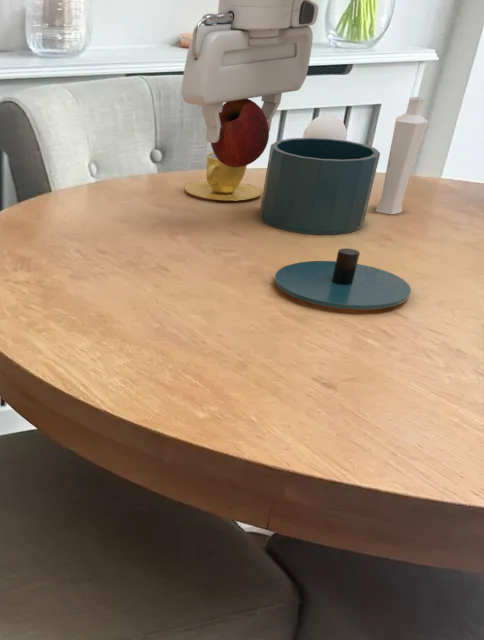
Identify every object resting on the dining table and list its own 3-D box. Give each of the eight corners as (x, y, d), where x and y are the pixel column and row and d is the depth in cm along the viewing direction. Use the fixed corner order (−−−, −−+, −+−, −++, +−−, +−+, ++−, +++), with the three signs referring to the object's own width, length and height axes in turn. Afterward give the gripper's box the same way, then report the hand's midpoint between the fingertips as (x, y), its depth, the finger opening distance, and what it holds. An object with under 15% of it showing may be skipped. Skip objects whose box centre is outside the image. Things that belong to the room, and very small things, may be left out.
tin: (382, 223, 127) (400, 151, 121) (320, 241, 120) (336, 165, 114) (301, 201, 136) (314, 133, 130) (239, 217, 128) (250, 145, 123)
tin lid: (434, 295, 103) (446, 256, 100) (356, 325, 96) (367, 283, 93) (325, 261, 113) (333, 224, 110) (246, 286, 105) (253, 246, 102)
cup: (210, 179, 146) (214, 144, 142) (274, 192, 140) (280, 155, 136) (169, 193, 138) (173, 156, 135) (235, 207, 132) (241, 168, 129)
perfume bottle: (404, 216, 130) (434, 102, 121) (373, 213, 131) (401, 99, 122) (404, 208, 133) (434, 97, 124) (374, 205, 134) (401, 94, 125)
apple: (194, 164, 117) (201, 96, 112) (237, 157, 120) (245, 90, 115) (233, 175, 112) (242, 104, 107) (276, 167, 115) (287, 98, 110)
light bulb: (342, 196, 139) (359, 118, 132) (303, 197, 138) (318, 119, 131) (323, 185, 144) (338, 110, 137) (285, 187, 143) (299, 111, 136)
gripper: (216, 16, 98) (202, 151, 107) (327, 6, 108) (306, 131, 117) (176, 12, 102) (165, 143, 111) (286, 3, 112) (268, 124, 121)
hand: (238, 137), depth 114 cm, fingers closed on apple, 8 cm apart
